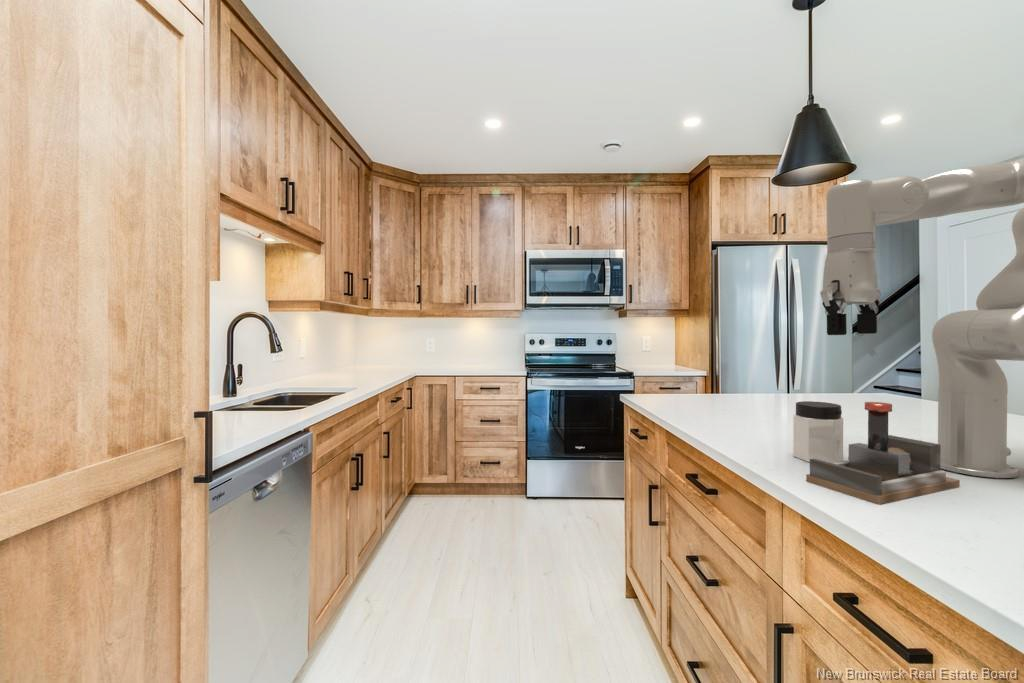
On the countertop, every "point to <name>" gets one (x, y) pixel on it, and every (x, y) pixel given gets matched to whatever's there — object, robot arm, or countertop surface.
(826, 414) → the jar
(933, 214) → the robot arm
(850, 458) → the handle
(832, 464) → the press base
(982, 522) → the countertop surface
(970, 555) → the countertop surface
